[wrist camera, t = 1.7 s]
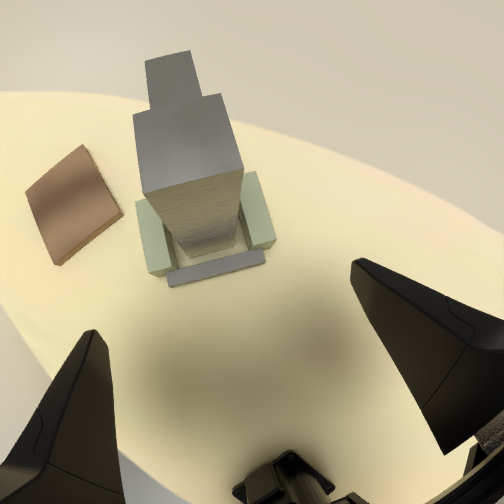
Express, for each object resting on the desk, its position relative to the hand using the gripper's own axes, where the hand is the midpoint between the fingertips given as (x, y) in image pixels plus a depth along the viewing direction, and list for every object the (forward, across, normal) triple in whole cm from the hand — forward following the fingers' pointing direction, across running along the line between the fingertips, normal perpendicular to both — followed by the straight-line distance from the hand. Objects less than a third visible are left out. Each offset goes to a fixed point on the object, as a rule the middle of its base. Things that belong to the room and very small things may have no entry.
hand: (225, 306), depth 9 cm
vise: (+13, 0, +5) cm, 14 cm away
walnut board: (+17, +11, +1) cm, 20 cm away
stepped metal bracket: (+14, 0, +4) cm, 14 cm away
